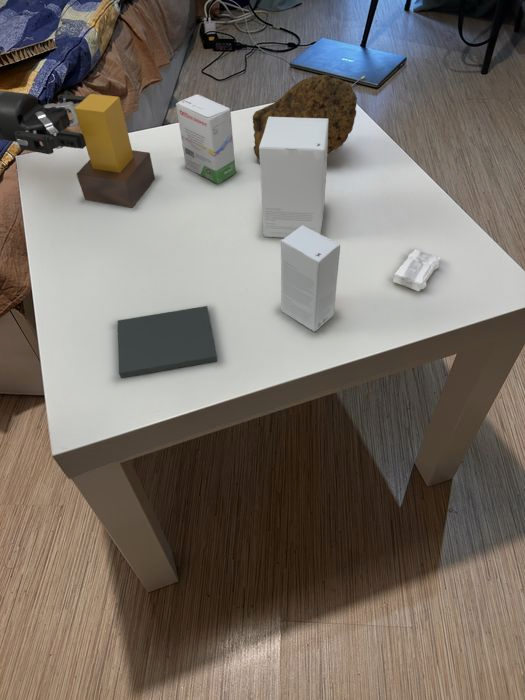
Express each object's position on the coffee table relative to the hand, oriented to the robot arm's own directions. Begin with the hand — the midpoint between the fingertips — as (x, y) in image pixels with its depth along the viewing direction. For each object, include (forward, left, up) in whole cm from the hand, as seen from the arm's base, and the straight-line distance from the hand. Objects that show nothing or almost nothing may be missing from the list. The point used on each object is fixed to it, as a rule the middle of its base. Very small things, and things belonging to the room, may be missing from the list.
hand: (97, 127), depth 82 cm
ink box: (+17, +2, -11) cm, 20 cm away
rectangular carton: (+28, -16, -11) cm, 34 cm away
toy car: (+42, -32, -11) cm, 54 cm away
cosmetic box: (+25, -36, -11) cm, 46 cm away
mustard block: (+1, 0, -6) cm, 6 cm away
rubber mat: (+6, -37, -11) cm, 40 cm away
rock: (+34, +3, -11) cm, 36 cm away
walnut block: (+1, 0, -11) cm, 11 cm away
